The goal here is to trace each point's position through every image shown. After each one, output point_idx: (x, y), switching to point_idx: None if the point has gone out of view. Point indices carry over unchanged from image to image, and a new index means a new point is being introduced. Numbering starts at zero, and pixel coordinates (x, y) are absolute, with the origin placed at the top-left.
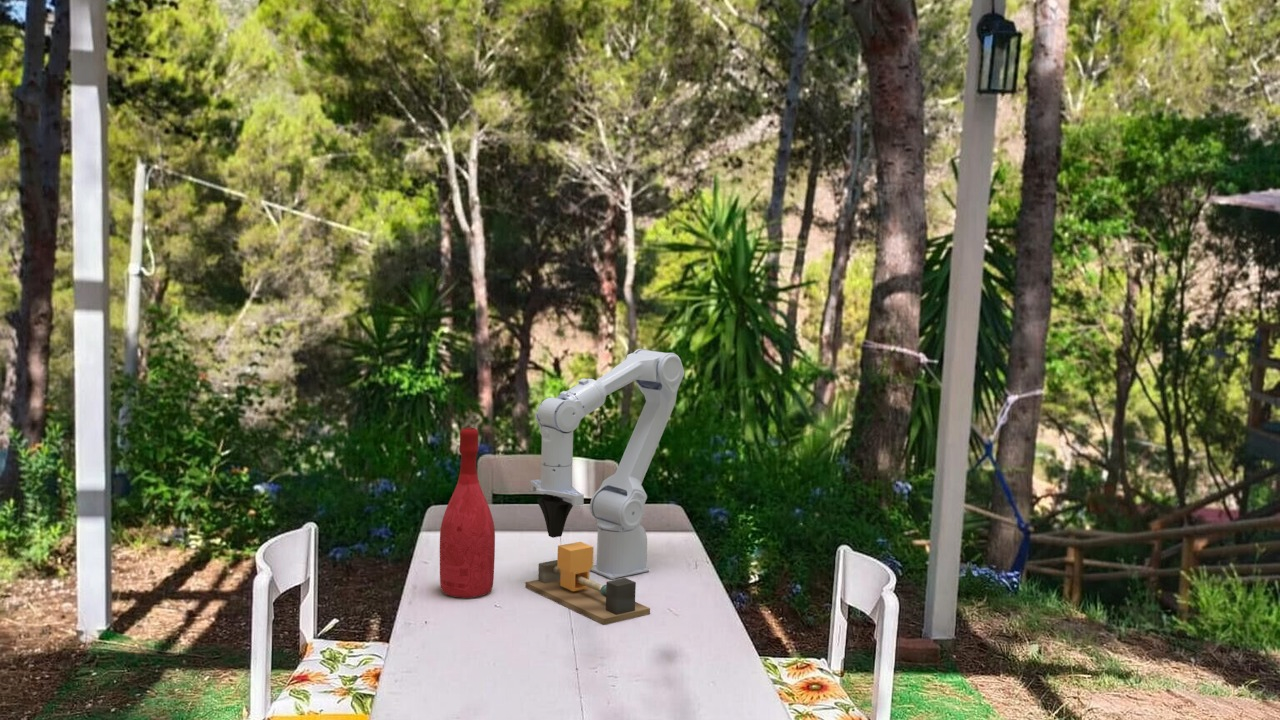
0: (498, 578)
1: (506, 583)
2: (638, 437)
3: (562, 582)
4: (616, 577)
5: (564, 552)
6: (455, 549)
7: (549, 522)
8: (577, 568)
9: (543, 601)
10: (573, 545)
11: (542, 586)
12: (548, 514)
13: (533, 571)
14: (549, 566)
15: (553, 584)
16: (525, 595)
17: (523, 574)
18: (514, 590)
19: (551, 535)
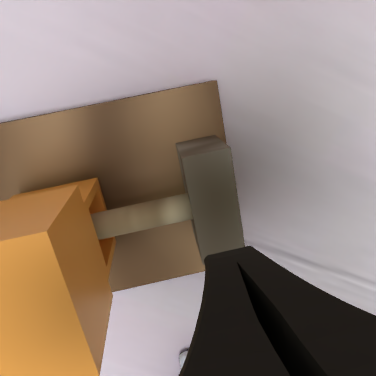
0: (355, 27)
1: (289, 32)
2: None
3: (81, 185)
4: (181, 368)
5: None
6: None
7: (244, 304)
8: None
9: (37, 80)
10: (27, 320)
11: (144, 122)
12: (268, 362)
13: (360, 176)
14: (186, 180)
15: (151, 169)
16: (128, 43)
17: (349, 133)
18: (200, 27)
19: (214, 257)
